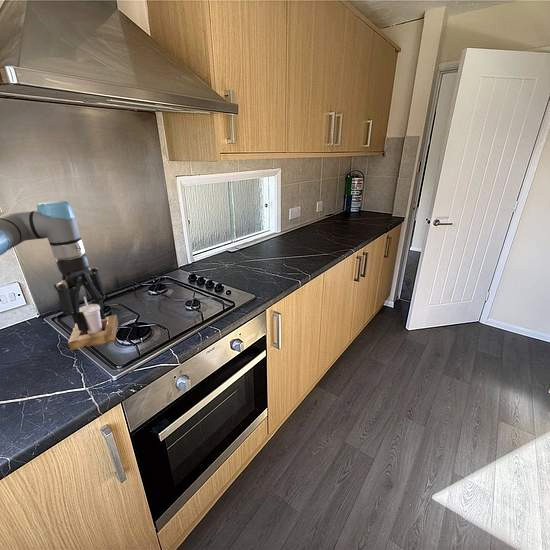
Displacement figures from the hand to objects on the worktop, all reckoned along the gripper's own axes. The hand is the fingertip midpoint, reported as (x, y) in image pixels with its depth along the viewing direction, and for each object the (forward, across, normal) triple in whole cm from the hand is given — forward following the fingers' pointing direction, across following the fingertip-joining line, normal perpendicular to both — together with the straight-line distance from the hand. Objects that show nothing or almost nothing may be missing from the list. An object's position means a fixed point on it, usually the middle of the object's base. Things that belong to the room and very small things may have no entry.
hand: (92, 324), depth 93 cm
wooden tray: (+4, 0, 0) cm, 4 cm away
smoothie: (+4, 0, 0) cm, 4 cm away
